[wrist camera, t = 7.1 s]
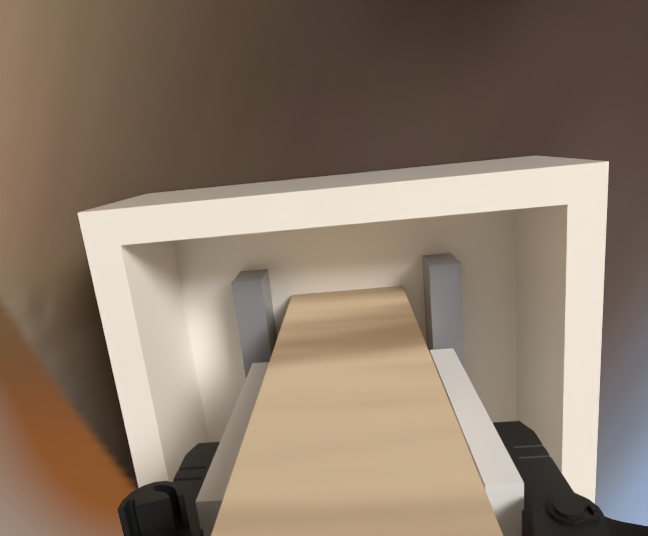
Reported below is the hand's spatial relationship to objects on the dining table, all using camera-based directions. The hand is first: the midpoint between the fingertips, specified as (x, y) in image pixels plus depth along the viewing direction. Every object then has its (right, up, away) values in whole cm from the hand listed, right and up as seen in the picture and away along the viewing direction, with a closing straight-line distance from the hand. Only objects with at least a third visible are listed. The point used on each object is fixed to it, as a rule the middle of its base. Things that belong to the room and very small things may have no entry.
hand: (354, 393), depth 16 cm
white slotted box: (0, +1, +3) cm, 3 cm away
